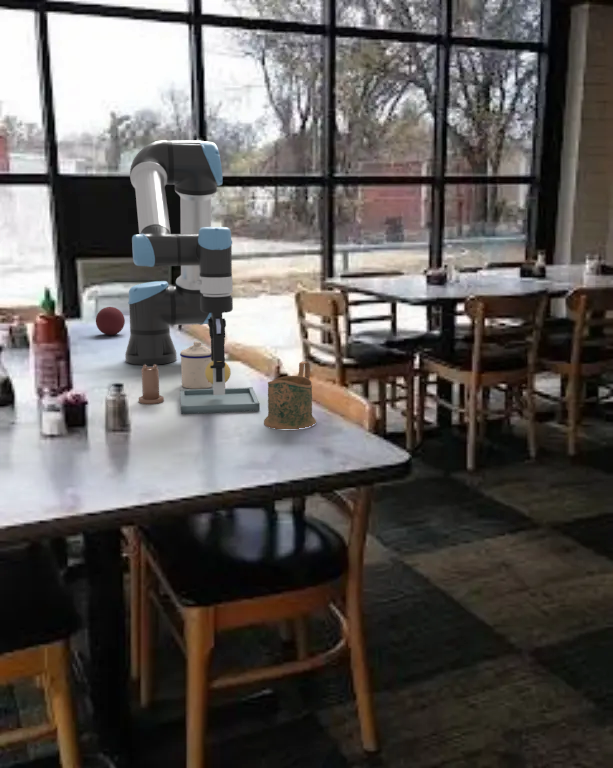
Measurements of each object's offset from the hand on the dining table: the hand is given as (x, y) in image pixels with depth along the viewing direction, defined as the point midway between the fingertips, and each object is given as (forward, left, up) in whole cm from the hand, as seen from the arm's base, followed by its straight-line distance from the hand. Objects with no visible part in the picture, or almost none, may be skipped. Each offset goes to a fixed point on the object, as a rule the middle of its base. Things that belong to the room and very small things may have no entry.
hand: (218, 391), depth 190 cm
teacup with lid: (-21, -4, -3) cm, 22 cm away
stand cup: (-5, -16, -3) cm, 17 cm away
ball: (0, 0, +5) cm, 5 cm away
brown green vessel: (+16, +16, -3) cm, 23 cm away
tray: (0, 0, -3) cm, 3 cm away
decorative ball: (-101, -32, -3) cm, 106 cm away
